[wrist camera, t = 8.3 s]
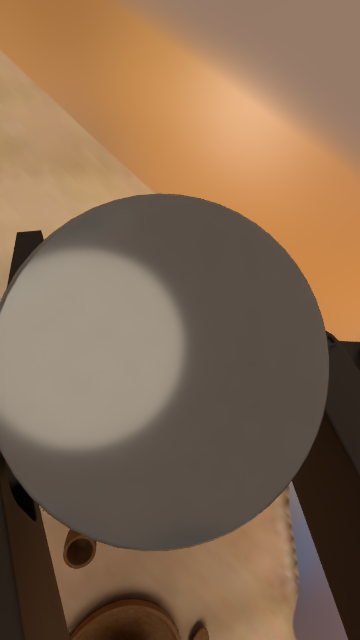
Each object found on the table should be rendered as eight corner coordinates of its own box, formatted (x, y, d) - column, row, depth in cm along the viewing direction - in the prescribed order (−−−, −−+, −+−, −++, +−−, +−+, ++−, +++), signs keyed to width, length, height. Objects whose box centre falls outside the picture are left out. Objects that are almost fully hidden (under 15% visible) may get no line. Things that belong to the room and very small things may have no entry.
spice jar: (48, 352, 13) (-126, 377, 3) (125, 279, 14) (177, 126, 4) (126, 422, 13) (192, 633, 4) (193, 347, 14) (380, 353, 5)
